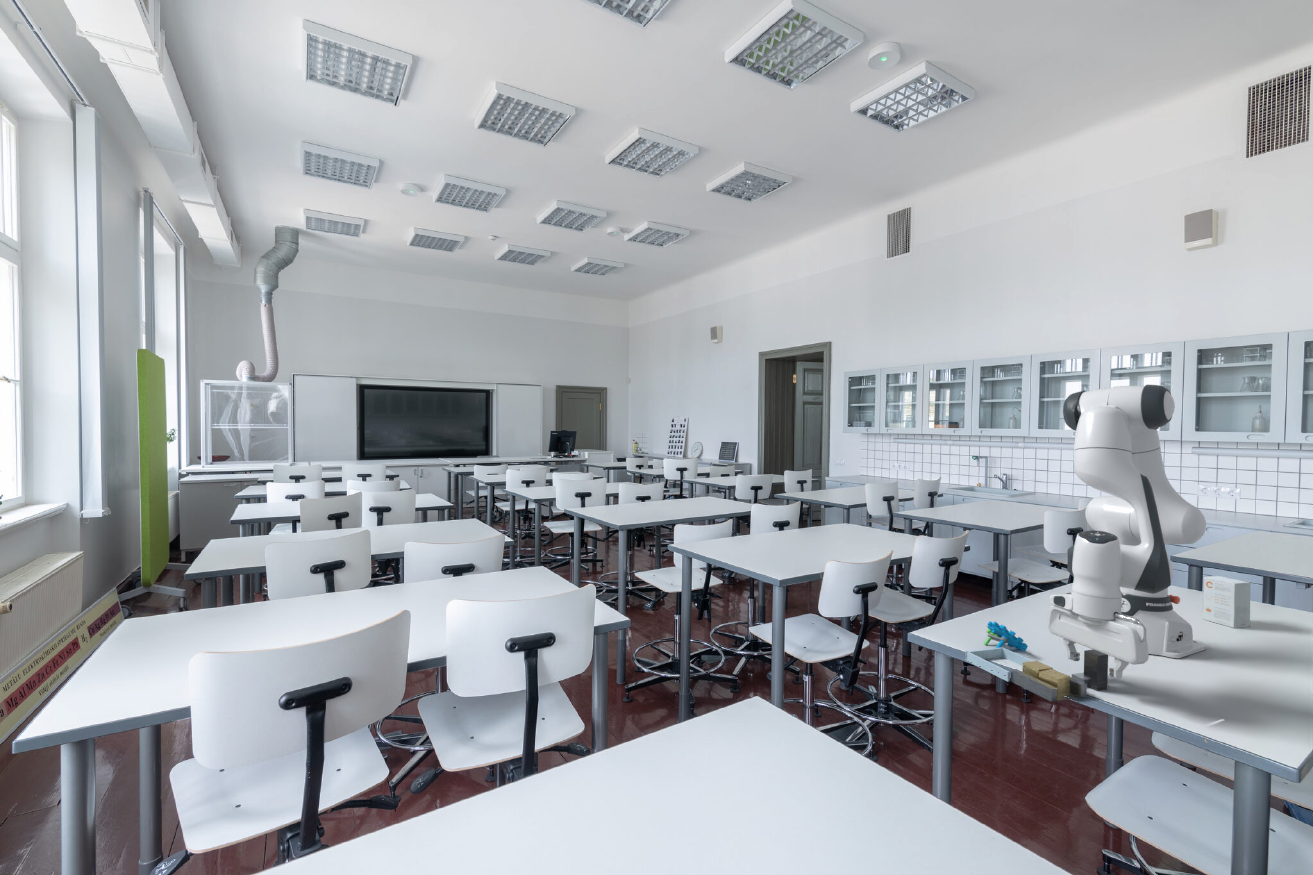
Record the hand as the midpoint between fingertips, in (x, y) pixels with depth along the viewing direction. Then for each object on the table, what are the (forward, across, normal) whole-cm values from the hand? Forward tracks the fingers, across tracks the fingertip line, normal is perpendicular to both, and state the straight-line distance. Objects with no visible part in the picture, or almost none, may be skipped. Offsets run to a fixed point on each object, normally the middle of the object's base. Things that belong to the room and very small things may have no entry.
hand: (1094, 668), depth 128 cm
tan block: (+4, +5, +10) cm, 12 cm away
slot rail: (+4, +2, +11) cm, 12 cm away
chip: (+4, 0, +11) cm, 12 cm away
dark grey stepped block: (+4, 0, 0) cm, 4 cm away
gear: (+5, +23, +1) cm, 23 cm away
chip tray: (+4, +13, +11) cm, 17 cm away
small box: (+4, +24, -81) cm, 84 cm away
